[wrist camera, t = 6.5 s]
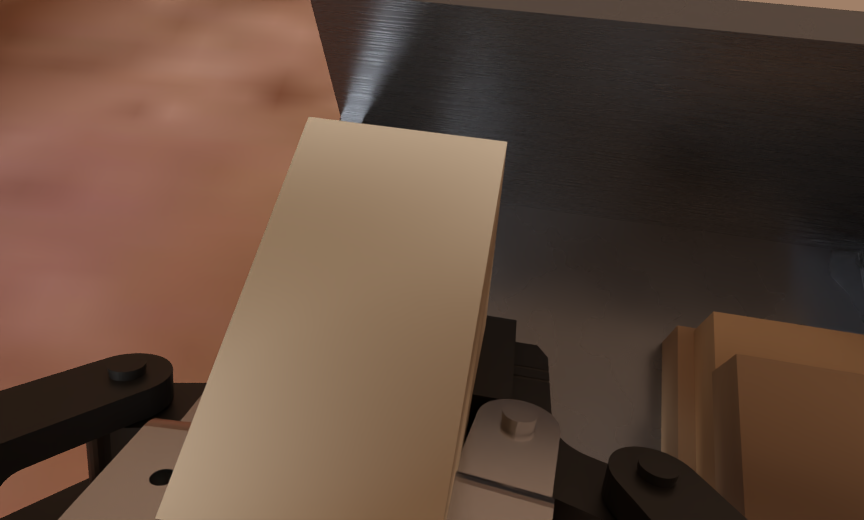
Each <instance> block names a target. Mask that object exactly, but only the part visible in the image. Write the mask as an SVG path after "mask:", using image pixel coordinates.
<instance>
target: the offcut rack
mask: <svg viewBox="0 0 864 520" xmlns="http://www.w3.org/2000/svg"><path fill="white" fill-rule="evenodd" d="M311 4H312V8H313V12H314V16H315V19H316V23H317V27H318V31H319V35H320V39H321V42H322V46H323V50H324V54H325V58H326V62H327V65H328V69H329V73H330V77H331V81H332V85H333V89H334V92H335V96H336V100H337V104H338V108H339V112H340V115H341V118H340V120H339V121H346V122H354V123H362V124H370V125H378V126H386V127H394V128H402V129H410V130H418V131H425V132H433V133H441V134H449V135H457V136H465V137H473V138H481V139H489V140H497V141H505V142H507V148H506V157H505V165H504V174H503V182H502V191H501V199H500V208H499V216H498V224H497V233H496V241H495V250H494V258H493V267H492V275H491V283H490V292H489V300H488V309H487V315H488V316H494V317H500V318H506V319H513V320H517V325H516V342H521V343H526V344H532V345H538V346H539V348H540V349H541V350H542V351H543V352H544V354H545V355H546V356H547V357H548V365H549V383H550V396H551V412H552V415H553V416H554V418H555V419H556V420H557V421H558V423H559V425H560V430H561V433H560V438H561V439H562V440H563V441H564V442H566V443H567V444H568V445H569V446H571V447H572V448H574V449H576V450H577V451H579V452H581V453H583V454H585V455H588V456H590V457H592V458H595V459H597V460H600V461H602V462H605V463H607V464H608V460H609V457H610V455H611V454H612V453H613V452H614V451H616V450H618V449H620V448H623V447H631V446H637V447H646V448H651V449H655V450H658V451H661V406H662V342H663V341H664V340H665V339H666V338H667V336H668V335H669V334H670V333H671V332H672V331H673V330H674V329H675V328H676V327H677V326H678V325H679V326H685V327H691V328H697V327H698V326H699V325H700V324H701V323H702V322H703V321H704V320H705V319H706V318H707V317H708V316H709V315H710V314H711V313H712V312H713V311H714V312H721V313H727V314H734V315H740V316H746V317H753V318H759V319H766V320H772V321H779V322H785V323H791V324H798V325H804V326H811V327H817V328H824V329H830V330H836V331H843V332H849V333H856V334H862V335H864V12H860V11H849V10H837V9H826V8H816V7H805V6H793V5H783V4H771V3H760V2H749V1H738V0H311Z"/></svg>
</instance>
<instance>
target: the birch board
mask: <svg viewBox="0 0 864 520" xmlns="http://www.w3.org/2000/svg"><path fill="white" fill-rule="evenodd" d="M506 148H507V142H505V141H497V140H489V139H481V138H473V137H465V136H457V135H449V134H441V133H433V132H425V131H418V130H410V129H402V128H394V127H386V126H378V125H370V124H362V123H354V122H346V121H338V120H330V119H322V118H314V117H308V120H307V123H306V125H305V128H304V131H303V133H302V136H301V138H300V141H299V144H298V146H297V149H296V151H295V154H294V157H293V159H292V162H291V164H290V167H289V170H288V172H287V175H286V178H285V180H284V183H283V185H282V188H281V191H280V193H279V196H278V198H277V201H276V204H275V206H274V209H273V212H272V214H271V217H270V219H269V222H268V225H267V227H266V230H265V232H264V235H263V238H262V240H261V243H260V245H259V248H258V251H257V253H256V256H255V259H254V261H253V264H252V266H251V269H250V272H249V274H248V277H247V279H246V282H245V285H244V287H243V290H242V293H241V295H240V298H239V300H238V303H237V306H236V308H235V311H234V313H233V316H232V319H231V321H230V324H229V326H228V329H227V332H226V334H225V337H224V340H223V342H222V345H221V347H220V350H219V353H218V355H217V358H216V360H215V363H214V366H213V368H212V371H211V374H210V376H209V379H208V381H207V384H206V387H205V389H204V392H203V394H202V397H201V400H200V402H199V405H198V407H197V410H196V413H195V415H194V418H193V421H192V423H191V426H190V428H189V431H188V434H187V436H186V439H185V441H184V444H183V447H182V449H181V452H180V455H179V457H178V460H177V462H176V465H175V468H174V470H173V473H172V475H171V478H170V481H169V483H168V486H167V488H166V491H165V494H164V496H163V499H162V502H161V504H160V507H159V509H158V512H157V515H156V517H155V518H156V519H160V520H446V519H447V514H448V509H449V504H450V499H451V494H452V488H453V483H454V478H455V474H456V470H457V471H458V466H459V461H460V456H461V452H462V449H463V447H464V444H465V442H466V435H467V428H468V421H469V414H470V408H471V401H472V394H473V389H474V383H475V378H476V373H477V368H478V362H479V357H480V352H481V346H482V341H483V336H484V331H485V325H486V317H487V309H488V300H489V292H490V283H491V275H492V267H493V258H494V250H495V241H496V233H497V224H498V216H499V208H500V199H501V191H502V182H503V174H504V165H505V157H506Z"/></svg>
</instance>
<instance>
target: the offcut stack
mask: <svg viewBox="0 0 864 520" xmlns="http://www.w3.org/2000/svg"><path fill="white" fill-rule="evenodd" d="M661 452H664V453H667V454H669V455H671V456H673V457H675V458H677V459H679V460H681V461H682V462H684V463H685V464H687V465H688V466H689V467H690V468H692V469H693V470H694V471H695V472H696V473H697V474H698V475H699V476H701V477H702V478H703V479H704V480H705V481H706V482H707V483H708V484H709V485H710V486H711V487H713V488H714V489H715V490H716V491H717V492H718V493H719V494H720V495H721V496H722V497H724V498H725V499H726V500H727V501H728V502H729V503H730V504H731V505H732V506H733V507H734V508H736V509H737V510H738V511H739V512H740V513H741V514H742V515H743V516H744V517H745V518H746V519H748V520H864V335H862V334H856V333H849V332H843V331H836V330H830V329H824V328H817V327H811V326H804V325H798V324H791V323H785V322H779V321H772V320H766V319H759V318H753V317H746V316H740V315H734V314H727V313H721V312H714V311H713V312H712V313H711V314H710V315H709V316H708V317H707V318H706V319H705V320H704V321H703V322H702V323H701V324H700V325H699V326H698V327H697V328H691V327H685V326H679V325H678V326H677V327H676V328H675V329H674V330H673V331H672V332H671V333H670V334H669V335H668V336H667V338H666V339H665V340H664V341H663V342H662V406H661Z"/></svg>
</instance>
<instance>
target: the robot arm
mask: <svg viewBox="0 0 864 520" xmlns="http://www.w3.org/2000/svg"><path fill="white" fill-rule="evenodd" d="M516 325H517V320H513V319H506V318H500V317H494V316H488V315H487V317H486V325H485V331H484V336H483V341H482V346H481V352H480V357H479V362H478V368H477V373H476V378H475V383H474V389H473V394H472V401H471V408H470V414H469V421H468V428H467V435H466V442H465V444H464V447H463V449H462V452H461V456H460V461H459V466H458V471H457V470H456V474H455V478H454V483H453V488H452V494H451V499H450V504H449V509H448V514H447V519H446V520H748V519H746V518H745V517H744V516H743V515H742V514H741V513H740V512H739V511H738V510H737V509H736V508H734V507H733V506H732V505H731V504H730V503H729V502H728V501H727V500H726V499H725V498H724V497H722V496H721V495H720V494H719V493H718V492H717V491H716V490H715V489H714V488H713V487H711V486H710V485H709V484H708V483H707V482H706V481H705V480H704V479H703V478H702V477H701V476H699V475H698V474H697V473H696V472H695V471H694V470H693V469H692V468H690V467H689V466H688V465H687V464H685V463H684V462H682V461H681V460H679V459H677V458H675V457H673V456H671V455H669V454H667V453H664V452H661V451H658V450H655V449H651V448H646V447H637V446H631V447H623V448H620V449H618V450H616V451H614V452H613V453H612V454H611V455H610V457H609V460H608V464H607V463H605V462H602V461H600V460H597V459H595V458H592V457H590V456H588V455H585V454H583V453H581V452H579V451H577V450H576V449H574V448H572V447H571V446H569V445H568V444H567V443H566V442H564V441H563V440H562V439H561V438H560V433H561V430H560V425H559V423H558V421H557V420H556V419H555V418H554V416H553V415H552V412H551V396H550V383H549V365H548V357H547V356H546V355H545V354H544V352H543V351H542V350H541V349H540V348H539V346H538V345H532V344H526V343H521V342H516ZM206 384H207V383H173V367H172V364H171V363H170V362H169V361H168V360H167V359H165V358H163V357H160V356H157V355H153V354H144V353H134V354H123V355H118V356H113V357H109V358H106V359H103V360H99V361H96V362H93V363H90V364H86V365H83V366H80V367H77V368H73V369H70V370H67V371H64V372H60V373H57V374H54V375H51V376H47V377H44V378H41V379H38V380H34V381H31V382H28V383H25V384H21V385H18V386H15V387H12V388H8V389H5V390H2V391H0V486H1V485H2V483H3V482H4V481H5V480H6V479H7V478H8V477H10V476H11V475H12V474H14V473H16V472H17V471H19V470H21V469H24V468H26V467H28V466H31V465H33V464H36V463H38V462H41V461H43V460H46V459H48V458H51V457H53V456H55V455H58V454H60V453H63V452H65V451H68V450H70V449H73V448H75V447H77V446H80V445H82V444H85V443H86V447H87V459H88V470H89V478H88V479H86V480H84V481H82V482H79V483H77V484H75V485H73V486H71V487H68V488H66V489H64V490H62V491H60V492H57V493H55V494H53V495H51V496H49V497H47V498H44V499H42V500H40V501H38V502H36V503H33V504H31V505H29V506H27V507H25V508H22V509H20V510H18V511H16V512H14V513H11V514H9V515H7V516H5V517H3V518H0V520H160V519H156V518H155V517H156V515H157V512H158V509H159V507H160V504H161V502H162V499H163V496H164V494H165V491H166V488H167V486H168V483H169V481H170V478H171V475H172V473H173V470H174V468H175V465H176V462H177V460H178V457H179V455H180V452H181V449H182V447H183V444H184V441H185V439H186V436H187V434H188V431H189V428H190V426H191V423H192V421H193V418H194V415H195V413H196V410H197V407H198V405H199V402H200V400H201V397H202V394H203V392H204V389H205V387H206Z"/></svg>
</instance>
